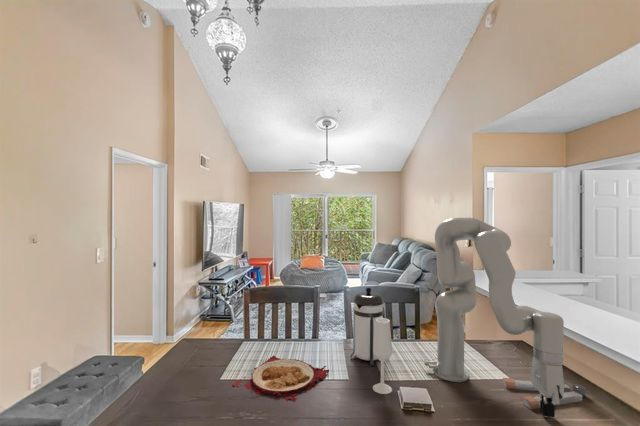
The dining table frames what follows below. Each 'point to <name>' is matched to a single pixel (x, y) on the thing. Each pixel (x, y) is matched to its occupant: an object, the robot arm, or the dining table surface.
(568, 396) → the arm
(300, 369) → the plate with food
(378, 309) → the coffee press
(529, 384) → the base
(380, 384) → the champagne flute
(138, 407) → the dining table surface
